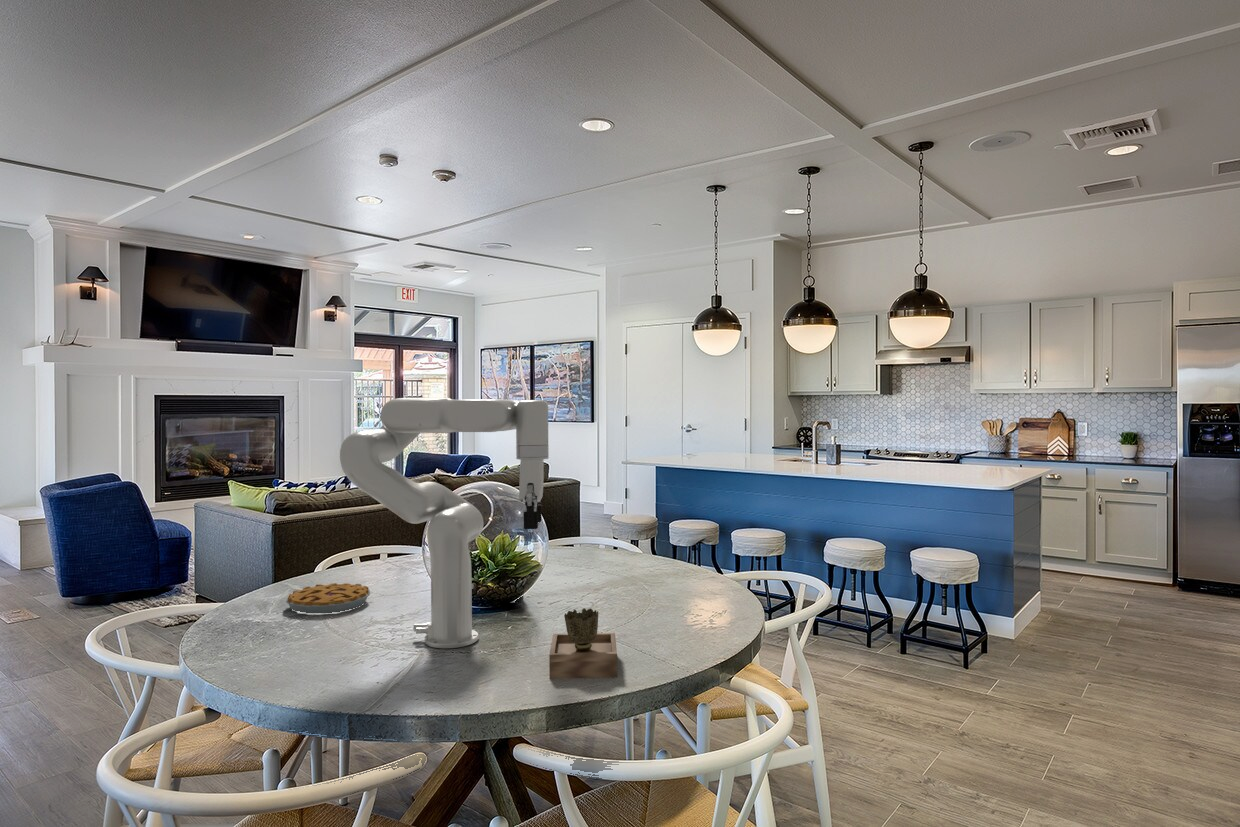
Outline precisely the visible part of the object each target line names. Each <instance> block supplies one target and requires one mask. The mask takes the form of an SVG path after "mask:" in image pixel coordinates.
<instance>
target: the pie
mask: <svg viewBox="0 0 1240 827" xmlns="http://www.w3.org/2000/svg"><path fill="white" fill-rule="evenodd" d="M370 595H371V590H370V589H369V587H368V586H366V585H364V586H362V583H361V584H360V583H356V584H351V583H345V582H344V583H342V584H341V583H340V584H339V583H337V582H336V583H335V582H334V583H330V584H315V586H313V587H312V586H305V587H303V588H302V589H301V590H300V589H299V590H293V592H292V593H290V594H288V596H287V598H286V601H285V602H286V604H288V606H289V607H290V610H291V609H293V610H295V611H300V612H306V613H332V612H340V611H345V610H349V609H353V608H356V607H359V606H361V605H362V604H363V603H364V604H366V601H367V599H368V597H369V596H370ZM362 606H363V605H362ZM362 606H361V607H362ZM359 608H360V607H359Z"/></svg>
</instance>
